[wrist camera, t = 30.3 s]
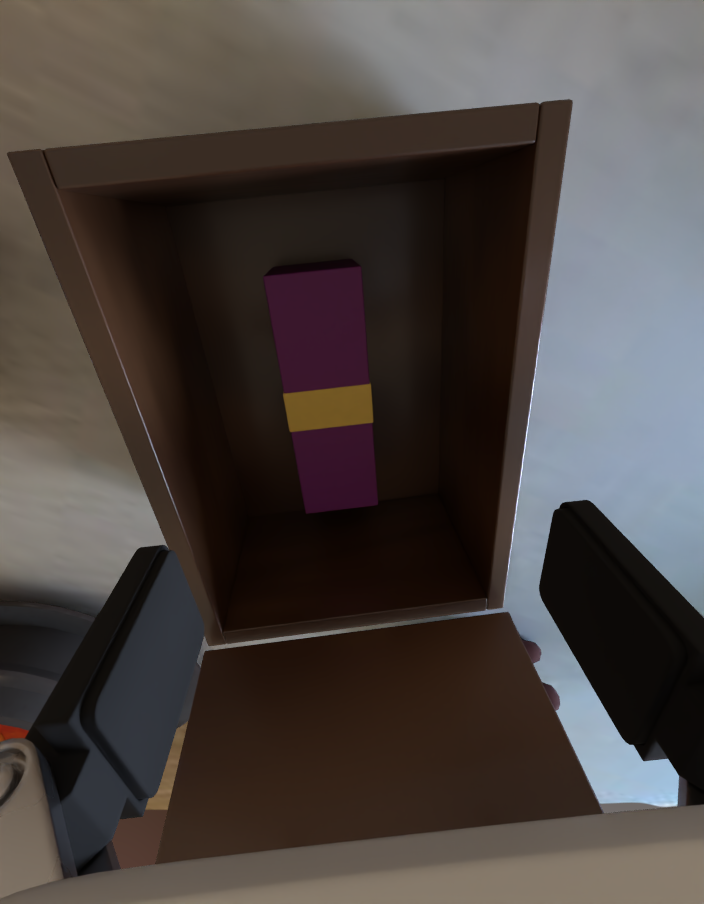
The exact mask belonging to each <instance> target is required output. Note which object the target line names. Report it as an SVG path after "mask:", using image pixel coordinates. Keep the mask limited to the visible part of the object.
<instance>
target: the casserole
mask: <svg viewBox="0 0 704 904" xmlns="http://www.w3.org/2000/svg"><path fill="white" fill-rule="evenodd" d="M94 620H95V617H92V616H90V615H88V614H84V613H81V612H77V611H74V610H70V609H66V608H63V607H59V606H53V605H47V604H40V603H34V602H19V601H0V742H1V741H4V740H7V739H11V738H24V739H25V737H26V735H27V733H28V732H29V730H30V728H31V727H32V725H33V723H34V722H35V720H36V718H37V716H38V715H39V713H40V711H41V710H42V708H43V706H44V705H45V703H46V701H47V700H48V698H49V696H50V694H51V693H52V691H53V689H54V688H55V686H56V684H57V683H58V681H59V679H60V677H61V676H62V674H63V672H64V671H65V669H66V667H67V666H68V664H69V662H70V660H71V659H72V657H73V655H74V654H75V652H76V650H77V649H78V647H79V645H80V644H81V642H82V640H83V638H84V637H85V635H86V633H87V632H88V630H89V628H90V627H91V625H92V623H93V621H94ZM200 669H201V668H200V666H199V665H198V664H197V662H196V665H195V668H194V671H193V675H192V678H191V681H190V685H189V688H188V691H187V695H186V698H185V702H184V705H183V708H182V712H181V715H180V718H179V722H178V725H177V728H178V727H180V726H182V725H183V724H185V723H186V722H187V721H188V720H189V716H190V712H191V708H192V704H193V699H194V695H195V691H196V686H197V682H198V678H199V673H200Z"/></svg>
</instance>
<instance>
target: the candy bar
mask: <svg viewBox="0 0 704 904" xmlns="http://www.w3.org/2000/svg"><path fill="white" fill-rule="evenodd" d="M263 281H264V287H265V292H266V298H267V303H268V309H269V314H270V320H271V325H272V331H273V336H274V342H275V347H276V353H277V358H278V364H279V369H280V375H281V380H282V386H283V391H284V392H283V398H284V404H285V409H286V415H287V420H288V426H289V431H290V432H291V436H292V441H293V447H294V452H295V458H296V463H297V469H298V474H299V480H300V485H301V491H302V496H303V502H304V507H305V513H306V514H308V513H317V512H325V511H333V510H341V509H350V508H358V507H366V506H374V505H378V493H377V479H376V465H375V450H374V436H373V422H374V420H373V405H372V391H371V383H370V379H369V365H368V351H367V336H366V322H365V308H364V294H363V280H362V267H361V266H360V265H359V264H358V263H357V262H355V261H354V260H353V259H343V260H334V261H324V262H314V263H305V264H295V265H285V266H276V267H273V268H272V269H270V270H269V271H268V272H267V273H266V274H265V275H264V276H263Z"/></svg>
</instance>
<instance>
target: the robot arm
mask: <svg viewBox="0 0 704 904" xmlns="http://www.w3.org/2000/svg"><path fill="white" fill-rule="evenodd" d="M539 591H540V596H541V599H542V601H543V603H544V604H545V606H546V608H547V610H548V611H549V613H550V615H551V616H552V618H553V620H554V622H555V623H556V625H557V627H558V628H559V630H560V632H561V634H562V635H563V637H564V639H565V641H566V642H567V644H568V646H569V647H570V649H571V651H572V653H573V654H574V656H575V658H576V659H577V661H578V663H579V665H580V666H581V668H582V670H583V672H584V673H585V675H586V677H587V678H588V680H589V682H590V684H591V685H592V687H593V689H594V690H595V692H596V694H597V696H598V697H599V699H600V701H601V703H602V704H603V706H604V708H605V709H606V711H607V713H608V715H609V716H610V718H611V720H612V722H613V723H614V725H615V727H616V728H617V730H618V732H619V734H620V735H621V737H622V738H623V739H624V740H625V742H626V743H628V744H629V745H634V746H635V748H636V750H637V752H638V753H639V755H640V757H641V758H642V760H643V761H650V760H659V759H669V761H670V762H671V764H672V765H673V767H674V769H675V770H676V772H677V773H678V775H679V788H678V806H677V807H669V808H658V809H646V810H634V811H624V812H614V813H604V814H595V815H585V816H576V817H566V818H557V819H548V820H538V821H529V822H519V823H510V824H500V825H491V826H482V827H473V828H464V829H455V830H446V831H437V832H428V833H419V834H410V835H401V836H392V837H383V838H374V839H365V840H356V841H347V842H338V843H329V844H321V845H312V846H304V847H295V848H287V849H278V850H269V851H261V852H252V853H244V854H235V855H227V856H218V857H210V858H201V859H192V860H184V861H177V862H170V863H163V864H155V865H149V866H141V867H134V868H127V869H121V868H120V865H119V862H118V859H117V856H116V852H115V849H114V846H113V843H112V838H113V836H114V833H115V830H116V827H117V825H118V822H119V819H126V818H135V817H142V816H143V814H144V811H145V808H146V805H147V802H148V798H152V797H154V795H155V794H156V792H157V791H158V788H159V785H160V782H161V779H162V775H163V772H164V769H165V765H166V762H167V759H168V755H169V752H170V749H171V745H172V742H173V738H174V735H175V732H176V728H177V725H178V722H179V718H180V715H181V712H182V708H183V705H184V702H185V698H186V695H187V691H188V688H189V685H190V681H191V678H192V675H193V671H194V668H195V665H196V661H197V658H198V655H199V651H200V648H201V645H202V641H203V637H204V622H203V619H202V617H201V614H200V612H199V609H198V607H197V604H196V602H195V600H194V597H193V595H192V592H191V590H190V587H189V585H188V582H187V580H186V577H185V575H184V572H183V570H182V567H181V565H180V562H179V560H178V557H177V555H176V553H175V551H173V550H169V549H168V548H167V547H166V546H165V545H159V546H150V547H141V548H139V549H137V551H136V552H135V554H134V555H133V557H132V559H131V560H130V562H129V564H128V566H127V567H126V569H125V571H124V572H123V574H122V576H121V577H120V579H119V581H118V583H117V584H116V586H115V588H114V589H113V591H112V593H111V595H110V596H109V598H108V600H107V601H106V603H105V605H104V606H103V608H102V610H101V611H100V613H99V614H98V615H97V617H96V618H95V620H94V621H93V623H92V625H91V627H90V628H89V630H88V632H87V633H86V635H85V637H84V638H83V640H82V642H81V644H80V645H79V647H78V649H77V650H76V652H75V654H74V655H73V657H72V659H71V660H70V662H69V664H68V666H67V667H66V669H65V671H64V672H63V674H62V676H61V677H60V679H59V681H58V683H57V684H56V686H55V688H54V689H53V691H52V693H51V694H50V696H49V698H48V700H47V701H46V703H45V705H44V706H43V708H42V710H41V711H40V713H39V715H38V716H37V718H36V720H35V722H34V723H33V725H32V727H31V728H30V730H29V732H28V733H27V735H26V737H25V739H24V738H11V739H7V740H4V741H1V742H0V904H704V618H703V617H702V616H701V615H700V614H699V612H698V611H697V610H696V609H695V608H694V607H693V606H692V605H691V604H690V603H689V602H688V601H687V600H686V599H685V598H684V597H683V596H682V595H681V594H680V593H679V592H678V591H677V590H676V589H675V588H674V587H673V586H672V585H671V584H670V583H669V582H668V580H667V579H666V578H665V577H664V576H663V575H662V574H661V573H660V572H659V571H658V570H657V569H656V568H655V567H654V566H653V565H652V564H651V563H650V562H649V561H648V560H647V559H646V558H645V557H644V556H643V555H642V554H641V553H640V552H639V551H638V549H637V548H636V547H635V546H634V545H633V544H632V543H631V542H630V541H629V540H628V539H627V538H626V537H625V536H624V535H623V534H622V533H621V532H620V531H619V530H618V529H617V528H616V527H615V526H614V525H613V524H612V523H611V522H610V521H609V520H608V519H607V517H606V516H605V515H604V514H603V513H602V512H601V511H600V510H599V509H598V508H597V507H596V506H595V505H594V504H593V503H592V502H590V501H588V500H582V501H573V502H564V503H562V504H561V505H560V508H559V509H556V510H555V511H554V513H553V517H552V522H551V528H550V533H549V538H548V543H547V548H546V553H545V559H544V564H543V569H542V574H541V579H540V584H539Z"/></svg>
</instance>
